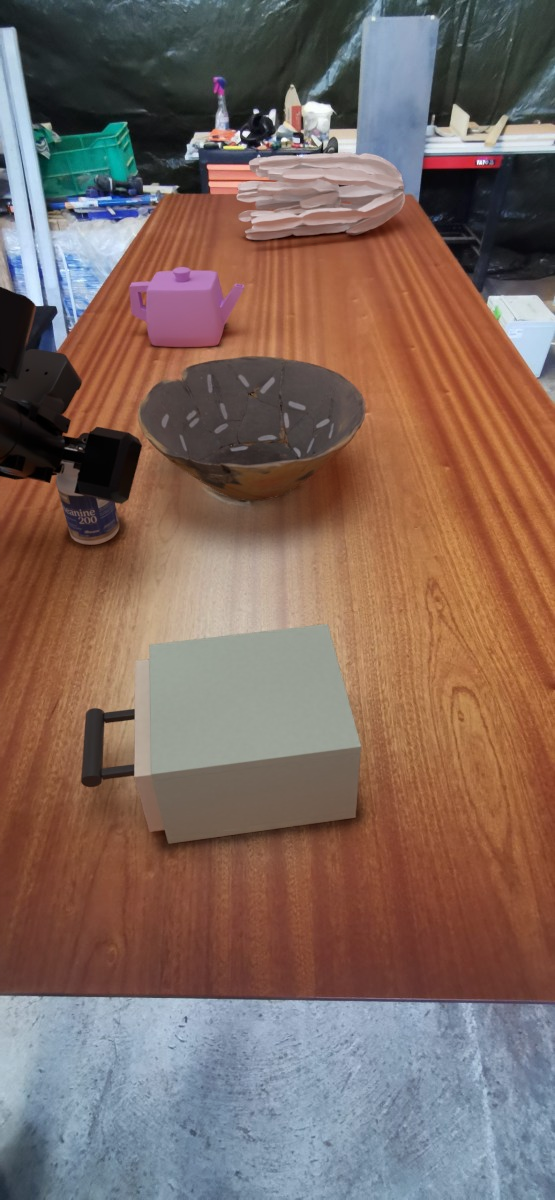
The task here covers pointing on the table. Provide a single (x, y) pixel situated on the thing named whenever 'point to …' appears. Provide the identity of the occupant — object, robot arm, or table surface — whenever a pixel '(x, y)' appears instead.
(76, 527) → the pill bottle
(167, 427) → the bowl
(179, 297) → the teapot
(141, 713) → the drawer
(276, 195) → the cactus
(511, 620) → the table surface
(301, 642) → the cabinet
